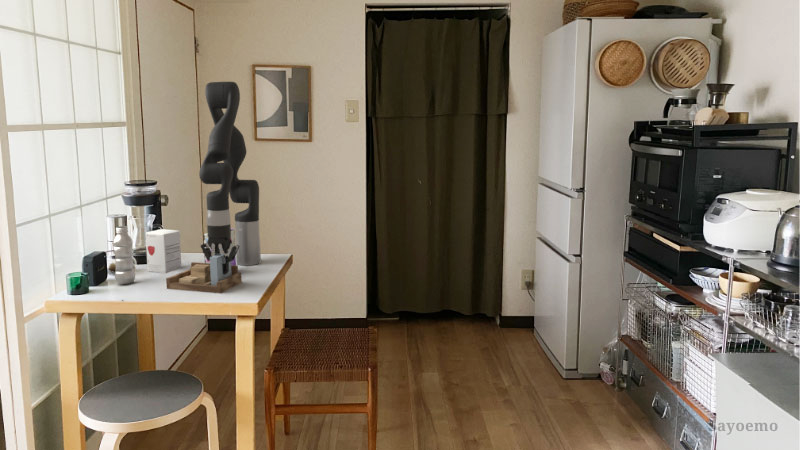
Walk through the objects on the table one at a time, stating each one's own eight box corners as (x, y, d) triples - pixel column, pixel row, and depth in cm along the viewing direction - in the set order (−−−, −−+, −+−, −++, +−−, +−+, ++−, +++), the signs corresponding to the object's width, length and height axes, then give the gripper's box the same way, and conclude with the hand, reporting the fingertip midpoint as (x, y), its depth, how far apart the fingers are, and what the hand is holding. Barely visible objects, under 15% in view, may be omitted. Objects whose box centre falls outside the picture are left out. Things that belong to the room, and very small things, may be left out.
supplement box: (146, 271, 243) (144, 232, 240) (163, 266, 251) (161, 228, 248) (165, 273, 239) (163, 234, 237) (182, 268, 248) (180, 230, 245)
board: (225, 280, 222) (223, 251, 221) (231, 280, 222) (230, 252, 220) (211, 286, 214) (209, 257, 212) (217, 287, 213) (216, 257, 212)
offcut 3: (197, 280, 226) (197, 272, 225) (212, 281, 224) (212, 273, 224) (189, 284, 221) (188, 275, 221) (204, 285, 219) (204, 276, 219)
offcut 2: (196, 272, 225) (196, 264, 224) (210, 273, 224) (209, 264, 224) (190, 275, 220) (190, 267, 220) (204, 276, 220) (204, 267, 219)
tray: (190, 281, 229) (189, 261, 228) (241, 285, 224) (240, 265, 223) (166, 291, 216) (165, 271, 214) (220, 296, 210) (219, 275, 209)
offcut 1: (187, 284, 220) (186, 276, 220) (199, 286, 219) (198, 277, 218) (179, 287, 217) (178, 279, 216) (191, 289, 215) (191, 280, 214)
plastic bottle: (140, 282, 228) (136, 226, 224) (126, 286, 221) (122, 229, 218) (125, 280, 230) (121, 225, 226) (111, 285, 223) (106, 228, 220)
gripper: (243, 222, 216) (245, 272, 219) (206, 220, 220) (208, 269, 223) (231, 225, 209) (234, 277, 212) (193, 223, 212) (196, 274, 215)
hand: (221, 273), depth 217 cm, fingers closed on board, 2 cm apart
